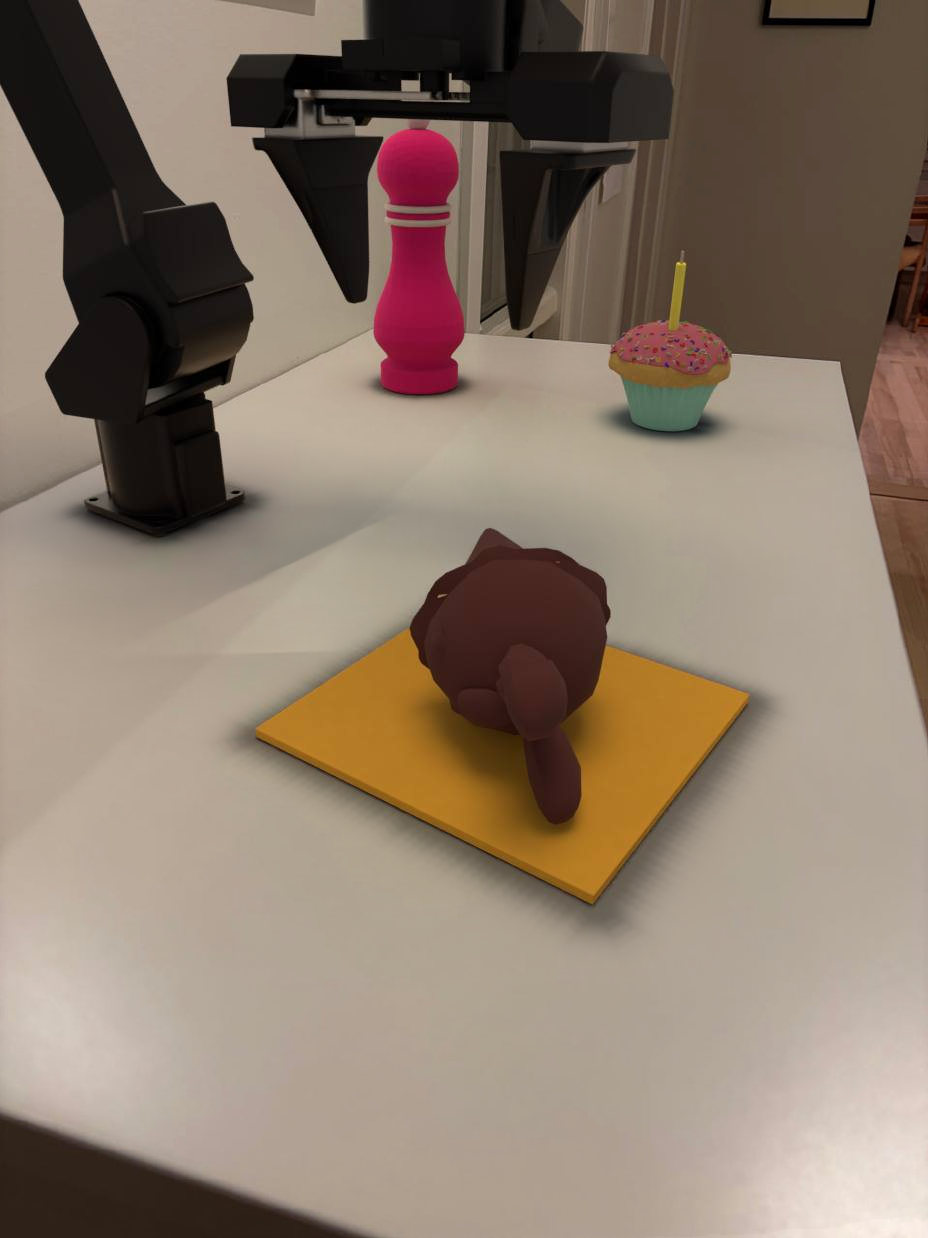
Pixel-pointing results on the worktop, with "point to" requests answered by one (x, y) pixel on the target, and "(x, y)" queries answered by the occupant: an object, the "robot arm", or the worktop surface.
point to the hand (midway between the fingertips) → (434, 314)
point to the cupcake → (670, 367)
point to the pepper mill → (418, 264)
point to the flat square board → (514, 757)
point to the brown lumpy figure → (519, 652)
